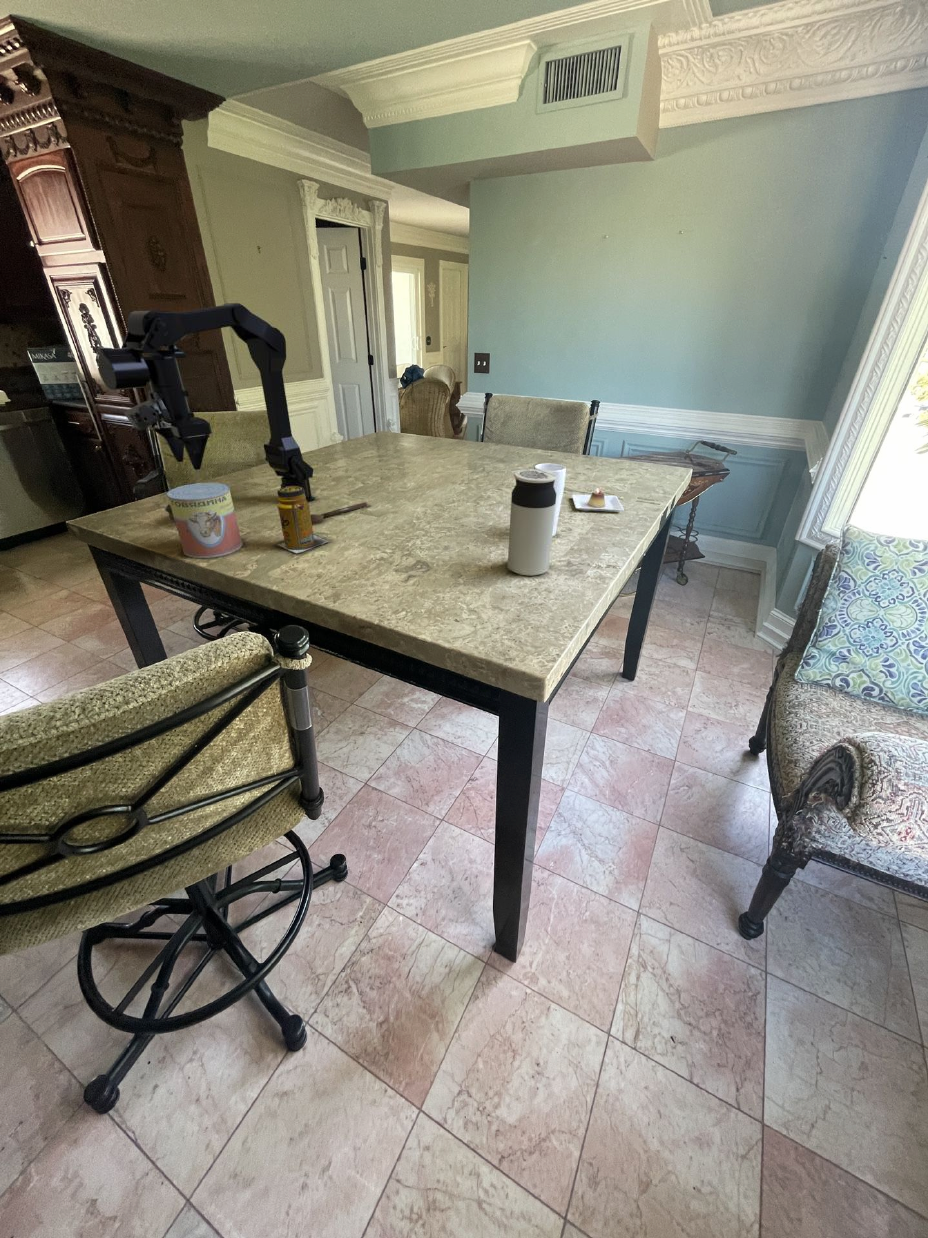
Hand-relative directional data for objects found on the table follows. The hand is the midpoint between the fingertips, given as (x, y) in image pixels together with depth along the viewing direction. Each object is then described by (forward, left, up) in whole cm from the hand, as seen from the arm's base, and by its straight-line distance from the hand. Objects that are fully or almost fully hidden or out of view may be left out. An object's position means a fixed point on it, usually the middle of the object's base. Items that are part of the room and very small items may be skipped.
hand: (188, 465), depth 106 cm
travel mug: (-33, +66, -14) cm, 75 cm away
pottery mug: (-1, -7, -14) cm, 16 cm away
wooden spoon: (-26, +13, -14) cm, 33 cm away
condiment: (-10, +24, -14) cm, 30 cm away
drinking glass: (-50, +58, -14) cm, 78 cm away
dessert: (-77, +56, -14) cm, 97 cm away
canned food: (+4, +12, -14) cm, 19 cm away
